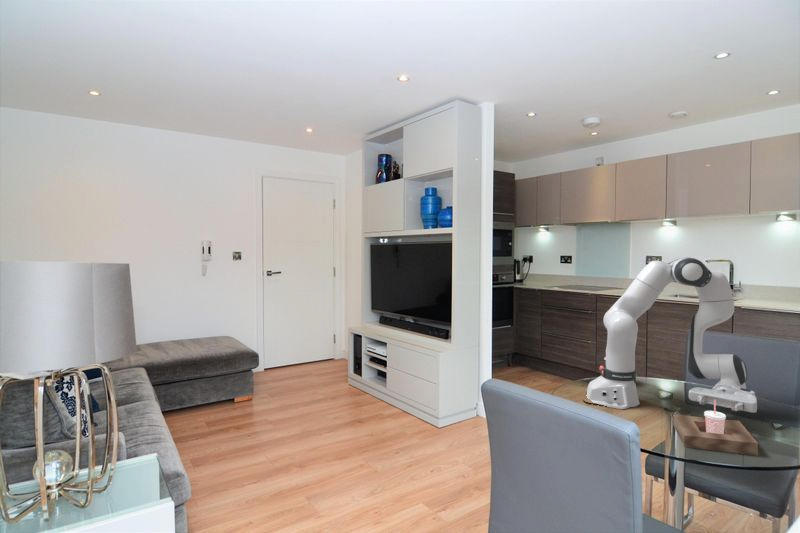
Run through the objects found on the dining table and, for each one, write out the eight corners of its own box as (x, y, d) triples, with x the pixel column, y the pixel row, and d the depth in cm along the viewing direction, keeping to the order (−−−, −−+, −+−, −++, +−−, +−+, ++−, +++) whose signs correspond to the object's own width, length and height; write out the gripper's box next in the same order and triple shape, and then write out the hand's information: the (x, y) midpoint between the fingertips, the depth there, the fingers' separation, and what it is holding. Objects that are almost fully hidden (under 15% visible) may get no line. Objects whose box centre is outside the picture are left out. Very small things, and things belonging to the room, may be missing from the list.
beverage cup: (699, 438, 152) (699, 398, 151) (711, 434, 154) (711, 395, 154) (718, 445, 146) (718, 404, 146) (730, 441, 149) (730, 400, 148)
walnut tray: (684, 446, 146) (684, 435, 146) (673, 424, 163) (673, 414, 163) (758, 455, 139) (758, 443, 139) (739, 431, 155) (739, 420, 155)
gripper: (693, 381, 172) (683, 390, 163) (760, 392, 158) (753, 403, 148) (693, 396, 173) (683, 407, 163) (760, 409, 158) (753, 421, 149)
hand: (717, 405), depth 156 cm, fingers open, 8 cm apart
